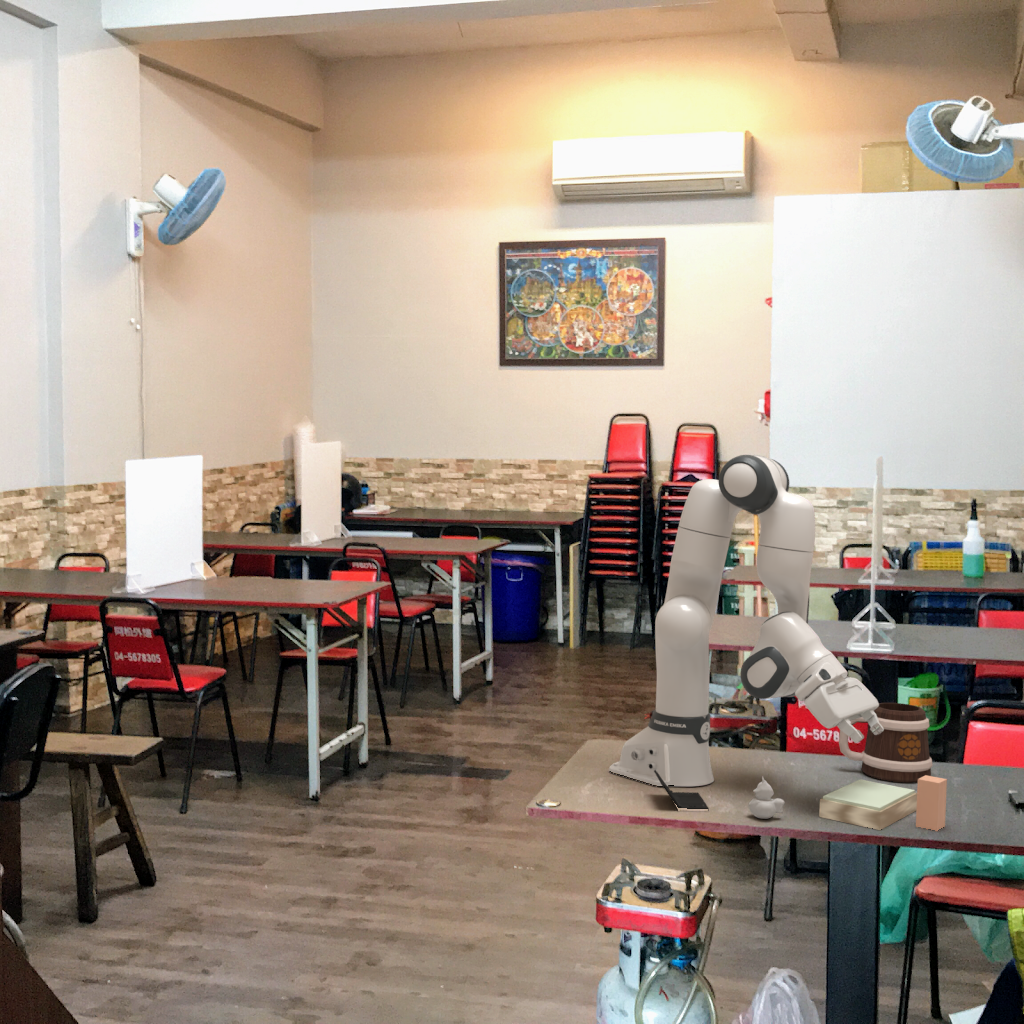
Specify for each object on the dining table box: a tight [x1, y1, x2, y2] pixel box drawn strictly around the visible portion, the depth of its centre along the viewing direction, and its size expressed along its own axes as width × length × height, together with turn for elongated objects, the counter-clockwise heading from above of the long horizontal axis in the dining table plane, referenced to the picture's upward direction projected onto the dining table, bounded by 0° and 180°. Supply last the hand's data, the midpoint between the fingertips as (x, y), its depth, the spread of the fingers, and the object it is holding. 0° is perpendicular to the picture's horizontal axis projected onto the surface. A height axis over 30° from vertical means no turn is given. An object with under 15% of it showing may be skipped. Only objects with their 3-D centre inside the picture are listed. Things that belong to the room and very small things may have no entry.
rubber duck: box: [748, 775, 786, 820], centre depth 226 cm, size 5×7×8 cm
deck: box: [818, 778, 917, 831], centre depth 231 cm, size 12×18×4 cm, turn 140°
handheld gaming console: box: [654, 770, 709, 810], centre depth 234 cm, size 12×7×10 cm
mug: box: [838, 702, 934, 784], centre depth 261 cm, size 20×15×15 cm
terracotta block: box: [915, 775, 948, 832], centre depth 223 cm, size 4×4×9 cm
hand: (870, 736), depth 230 cm, fingers open, 8 cm apart
